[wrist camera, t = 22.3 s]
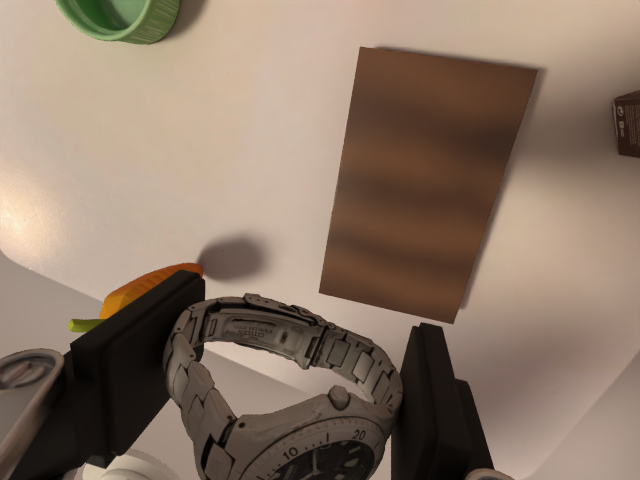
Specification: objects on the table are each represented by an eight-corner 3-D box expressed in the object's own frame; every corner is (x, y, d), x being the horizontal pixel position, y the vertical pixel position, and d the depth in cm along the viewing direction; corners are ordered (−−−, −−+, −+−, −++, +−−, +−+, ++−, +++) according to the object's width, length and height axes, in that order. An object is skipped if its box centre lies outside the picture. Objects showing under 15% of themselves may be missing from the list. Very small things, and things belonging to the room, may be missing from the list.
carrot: (177, 241, 35) (38, 316, 21) (222, 249, 35) (108, 333, 21) (178, 284, 37) (50, 380, 23) (221, 293, 36) (115, 398, 22)
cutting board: (449, 310, 32) (453, 324, 30) (323, 281, 34) (318, 293, 31) (525, 74, 25) (538, 70, 23) (362, 53, 27) (360, 46, 24)
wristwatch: (375, 408, 11) (365, 611, 6) (203, 334, 12) (76, 474, 7) (422, 322, 10) (450, 497, 5) (226, 243, 10) (92, 338, 6)
